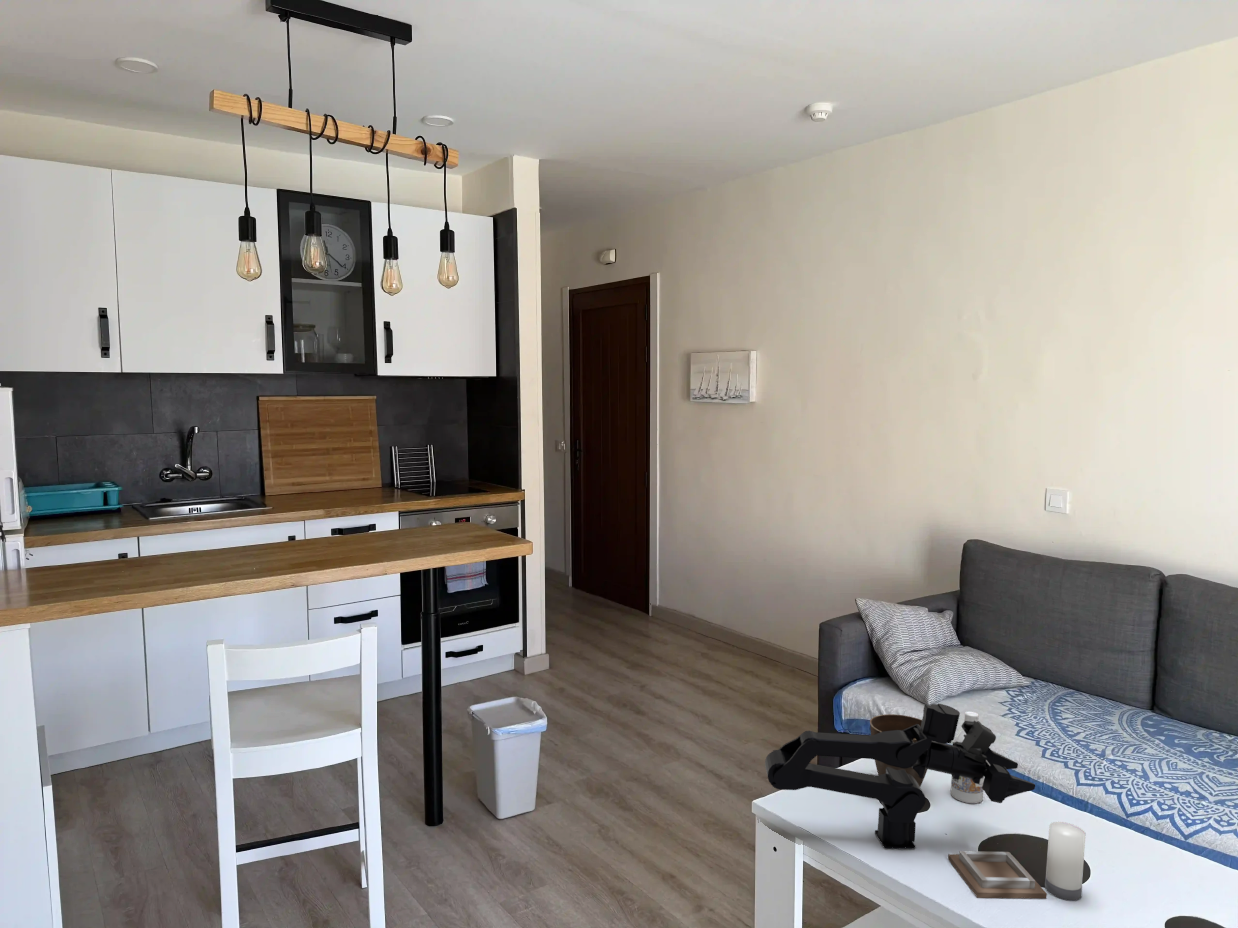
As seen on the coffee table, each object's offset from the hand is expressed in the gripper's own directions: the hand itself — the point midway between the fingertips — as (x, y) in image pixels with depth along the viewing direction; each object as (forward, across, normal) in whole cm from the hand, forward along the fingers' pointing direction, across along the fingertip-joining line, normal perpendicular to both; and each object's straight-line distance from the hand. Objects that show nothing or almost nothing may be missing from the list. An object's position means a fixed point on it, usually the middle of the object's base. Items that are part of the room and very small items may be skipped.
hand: (1025, 775), depth 170 cm
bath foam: (-1, +22, +17) cm, 28 cm away
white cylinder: (+5, -14, +15) cm, 21 cm away
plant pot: (-16, +22, +19) cm, 34 cm away
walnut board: (-6, -12, +17) cm, 21 cm away
